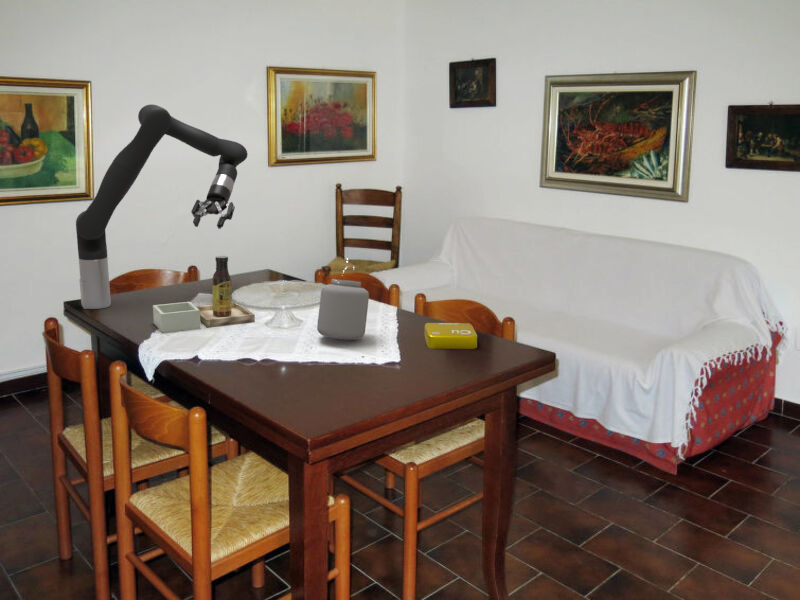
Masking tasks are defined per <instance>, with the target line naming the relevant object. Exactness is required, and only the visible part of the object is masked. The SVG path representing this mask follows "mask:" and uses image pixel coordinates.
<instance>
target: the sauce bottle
mask: <svg viewBox="0 0 800 600" xmlns="http://www.w3.org/2000/svg"><path fill="white" fill-rule="evenodd" d="M228 262H229V257H228V256H227V255H216V256H215V271H214V273H213V276H212V286H211V288H212V294H211V295H212V297H211V298H212V304H211V305H213V315H214V316H220V317H221V316H229V315H231V310H232V303H233V301H232V300H233V299H232V297H233V296H232V292H233V291H232V290H233V289H232V279H231V276H230V273H229V268H228Z"/></svg>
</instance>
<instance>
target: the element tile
mask: <svg viewBox="0 0 800 600" xmlns="http://www.w3.org/2000/svg"><path fill="white" fill-rule="evenodd" d="M424 339H425V342H426V346H427V348H429V349H433V350H474V349H477V348H478V333H477V332H476V330H475V329H474V327H473V325H472V324H471V323H469V322H467V323H466V322H465V323H463V322H461V323H460V322H453V323H452V322H426V323H425V324H424Z"/></svg>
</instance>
